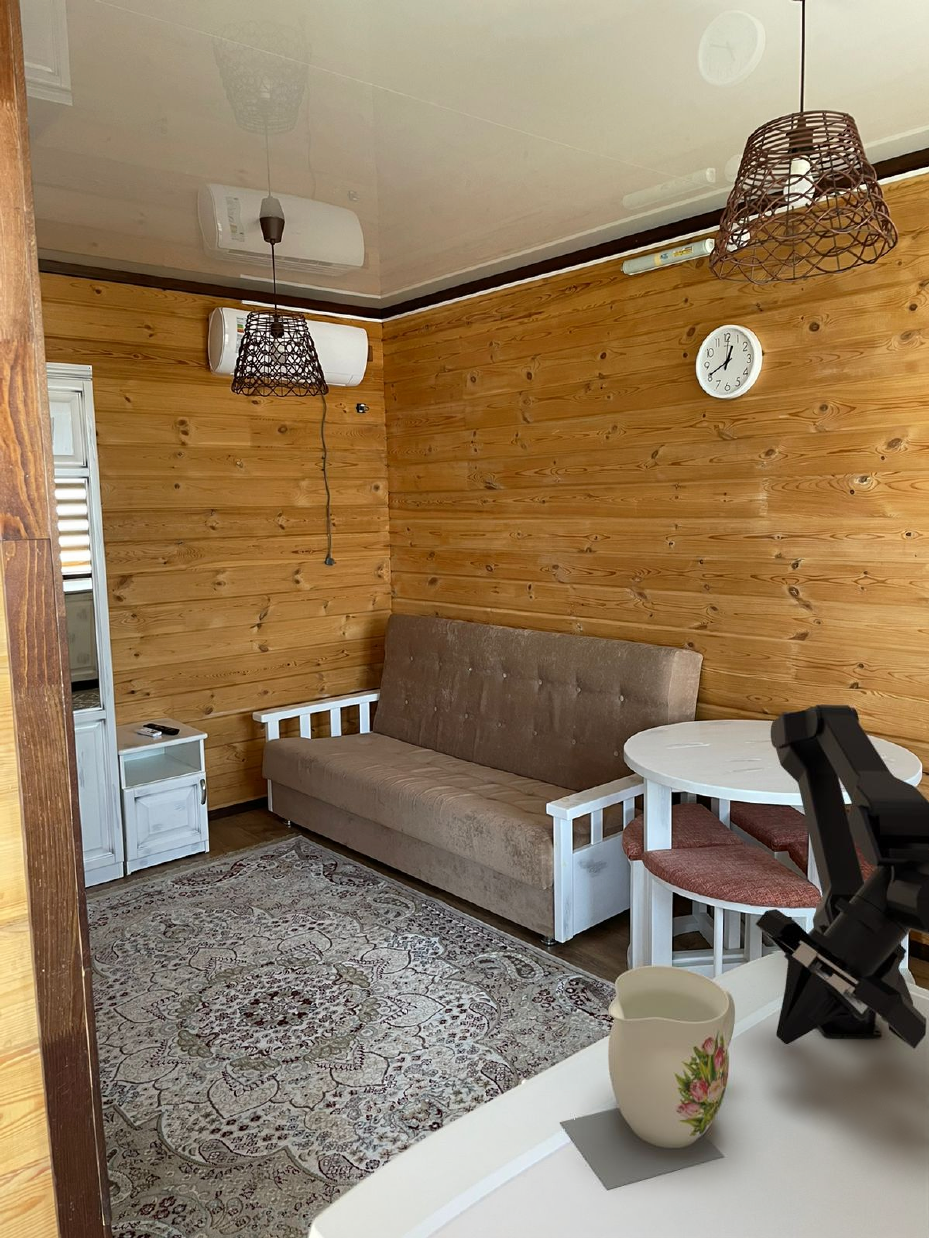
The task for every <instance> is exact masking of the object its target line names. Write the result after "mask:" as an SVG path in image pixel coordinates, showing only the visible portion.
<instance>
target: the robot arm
mask: <svg viewBox="0 0 929 1238" xmlns="http://www.w3.org/2000/svg"><path fill="white" fill-rule="evenodd" d="M770 740H771V744H772V747H773V748H775V750H776V753H777V754H776V755H777V757H778V761H779V765H780V766H781V768H783V770H784V771H785V772H786V773H788V775H790V776H791V777H792V778H793V780H795V781H796V783H797V786H798V788H799V794H800V798H801V799H800V800H801V803H802V808H803V811H804V817H805V822H806V825H807V830H808V831H807V832H808V835H809V840H810V845H811V848H812V849H811V850H812V853H813V858H814V863H815V868H816V872H817V876H818V880H819V886H820V890H821V898H820V901H819V903H818V906H817V908H816V910H815V911H814V915H813V917H812V925H813V928H812V929H811V930H810V931H809V932H806V930H804V928H803V927H802V926H800V925H799V924H798V923H797V922H796V921H795V920H794V919H792V918H790V917H789V916H787V915H786V914H785V913H783V912H781V911H780V910H779V909H777V908H775V909H774V908H773V909H769V910H768V909H767V910H765V912H764V913H763V914H762V915H761V916H760V918H759V919H758V920H757V921H756V922H755V924H754V925H755V926H756V927H757V928H758V929H759V930H760V931H761V932H762V933H763V934H764V935H765V936H766V937H767V938H768V939H769V940H770V941H771V942H772V943H773V944H775V946H777V948H778V949H780V950H781V952H783V953H784V958H785V960H787V969H786V976H785V977H786V978H785V979H786V980H785V987H784V992H783V1000H782V1005H781V1008H780V1014H779V1019H778V1023H777V1027H776V1033H775V1035H776V1037H777V1038H778V1039H779V1040H780V1041H781V1042H782V1043H783V1044H784V1045H789V1044H792V1043H793V1042H794V1041H797V1040H798V1039H799V1038H800V1039H801V1038H802V1037H804V1036H805V1035H807V1034H808V1033H810V1032H812V1031H814V1030H815V1029H817V1028H818V1029H819V1031H820V1032H821V1034H822V1035H823V1036H824V1037H826V1038H856V1039H857V1038H858V1039H859V1038H860V1039H861V1038H867V1039H868V1038H869V1039H870V1038H872V1039H873V1038H874V1039H875V1038H877V1039H880V1038H882V1037H883V1031H882V1030H881V1029H880V1028H879V1026H878V1025H877V1024H876V1021H877V1020H876V1019H877V1015H879V1017H881V1020H882V1021H884V1022H885V1023H887V1025H888V1030H889V1031H890V1033H892V1034H893V1035H894V1036H896V1037H897V1038H899V1039H900V1040H901V1041H903V1042H904V1043H905V1044H907V1045H909V1046H910V1047H911V1048H913V1049H916V1048H917V1046H918V1045H919V1044H920V1043H921V1041H922V1040H923V1038H924V1037H925V1036H926V1032H927V1018H926V1017H925V1016H924V1015H923V1014H922V1013H921V1012H920V1011H919V1009H917V1008H916V1007H915V1006H914V1002H913V999H912V995H911V993H910V991H909V988H908V985H907V982H906V979H905V978H904V975H903V974H902V973H901V971H900V969H899V967H900V965H901V963H902V961H903V960H904V959H905V957H906V956H905V954H906V953H907V949H905V948H904V946H903V945H902V942H903V941H904V940H905V938H906V937H907V936H908V935H909V933H910V932H911V931H915V932H918V933H921V934H923V935H926V936H929V800H928V799H927V798H926V797H925V796H924V795H923V794H922V793H921V792H920V791H919V790H918V789H917V788H916V786H914V785H913V784H911V783H908V782H906V781H904V780H902V779H900V778H897V777H896V776H895V775H893V773H892V772H891V771H890V769H889V768H888V766H887V764H886V762H885V761H884V759H883V758H882V756H881V754H880V753H879V752H878V750H877V749H876V747H875V746H874V744H873V743H872V741H871V739H870V737H869V736H868V735H867V733H866V732H865V730H864V728H863V727H862V725H861V723H860V718H859V713H858V712H857V710H856V708H855V707H850V706H849V705H846V704H845V705H843V704H816V705H815V706H809V707H808V708H806V709H803V710H799V711H783V712H781V714H780V715H779V717H777V718H776V719H773V721H772V723H771V726H770ZM841 784H842V786H843V788H844V790H845V792H846V794H847V795H848V798H849V800H850V806H849V811H848V810H847V806H846V802H845V798H844V793H843V790H842V786H841ZM856 846H857V847H858V849H859V851H860V853H861V854H862V856H863V858H864V859H865V862H866V863H867V864H868V865H870V866H874V867H876V868H875V869H874V870H873V871H872V873H871V874H870V875H869V877H868V878H867V879H866V880H865V879H864V875H863V872H862V871H863V870H862V867H861V862H860V859H859V854H858V849H857V847H856Z"/></svg>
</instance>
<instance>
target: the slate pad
mask: <svg viewBox="0 0 929 1238" xmlns="http://www.w3.org/2000/svg"><path fill="white" fill-rule="evenodd" d="M574 1119H575V1120H574ZM559 1125H560V1126H561V1127H562V1128H563V1130H564V1129H565V1130H564V1131H565V1133H566V1135H567V1136H568V1137H569V1138H570V1140H571V1141H572V1142H573V1144H574V1146H575V1147H576V1149H577V1150H578V1151H579V1153H580V1154H581V1156H582V1157H583V1158H584V1160H585V1161H586V1162H587V1164H588V1165H589V1167H590V1168H591V1170H592V1171H593V1173H594V1174H595V1176H597V1178H598V1180H599V1181H600V1183H601V1184H602V1185H603V1187H604V1188H605V1190H606V1191H610V1190H614V1189H618V1188H621V1187H625V1186H628V1185H630V1184H634V1183H638V1182H641V1181H644V1180H645V1181H646V1180H649V1179H653V1178H656V1177H659V1176H662V1175H663V1176H664V1175H667V1174H670V1173H673V1172H677V1171H681V1170H684V1169H688V1168H691V1167H695V1166H699V1165H701V1164H705V1163H709V1162H712V1161H716V1160H719V1159H722V1158H723V1159H724V1158H725V1155H724V1154H723V1153H722V1151H720V1149H718V1147H717V1146H716V1144H714V1143H713V1142H712V1141H711V1140H710V1138H709V1137H707V1135H706V1134H705V1133H703V1134H702V1135H701V1136H700V1137H699V1138H698V1139H697V1140H696V1141H695V1142H694V1143H692V1144H690V1145H688V1146H685V1147H681V1148H665V1147H660V1146H656V1145H653V1144H651V1143H648V1142H646V1141H645V1140H643V1139H641V1138H640V1137H639V1136H637V1135H636V1134H635V1133H634V1131H633V1130H632V1129H631V1127H630V1125H629V1124H628V1123H627V1121H626V1120H625V1118H624V1117H623V1115H622V1113H621V1111H620V1109H619V1107H615V1108H612V1109H607V1110H603V1111H600V1112H596V1113H591V1114H587V1115H583V1116H579V1117H574V1118H571V1119H567V1120H562V1121H560V1122H559Z"/></svg>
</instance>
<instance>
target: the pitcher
mask: <svg viewBox="0 0 929 1238" xmlns="http://www.w3.org/2000/svg"><path fill="white" fill-rule="evenodd" d="M614 989H615V998H614V999H613V1000H612V1001H611V1003H610V1004H609V1005H608V1014H609V1015H610V1017H612V1018H613V1022H612V1024H611V1029H610V1033H609V1037H608V1053H607V1054H608V1071H609V1078H610V1082H611V1087H612V1092H613V1094H614V1099H615V1101H616V1104H617V1106H618V1108H619V1109H620V1111H621V1113H622V1115H623V1117H624V1118H625V1120H626V1121H627V1123H628V1124H629V1125H630V1127H631V1129H632V1130H633V1131H634V1133H635V1134H636V1135H637V1136H639V1137H640V1138H641V1139H643V1140H645V1141H646V1142H648V1143H651V1144H653V1145H656V1146H660V1147H665V1148H681V1147H685V1146H688V1145H690V1144H692V1143H694V1142H695V1141H696V1140H697V1139H698V1138H699V1137H700V1136H701V1135H702V1134H703V1133H704V1134H705V1133H706V1131H708V1129H709V1128H710V1126H711V1125H712V1123H713V1122H714V1120H715V1118H716V1116H717V1115H718V1111H719V1110H720V1107H721V1106H722V1102H723V1099H724V1096H725V1093H726V1088H727V1084H728V1078H729V1070H730V1069H729V1067H730V1056H729V1055H730V1053H729V1048H730V1044H731V1041H732V1039H733V1034H734V1029H735V1019H736V1018H735V1017H736V1009H735V1007H736V1006H735V1001H734V998H733V995H732V994H731V993H730V991H729V990H727V989H726V988H724V987H721V986H720V984H718V983H717V982H715V981H714V980H712V979H711V978H709V977H707V976H705V975H703V974H702V973H698V972H696V971H693V970H689V969H686V968H682V967H679V966H677V967H676V966H673V965H672V966H671V965H646V966H645V965H644V966H639V967H636V968H635V967H634V968H632V969H629V970H626V971H625V972H623V973H621V974H620V975H619V976H618V977H617V978H616V980H615V982H614Z"/></svg>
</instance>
